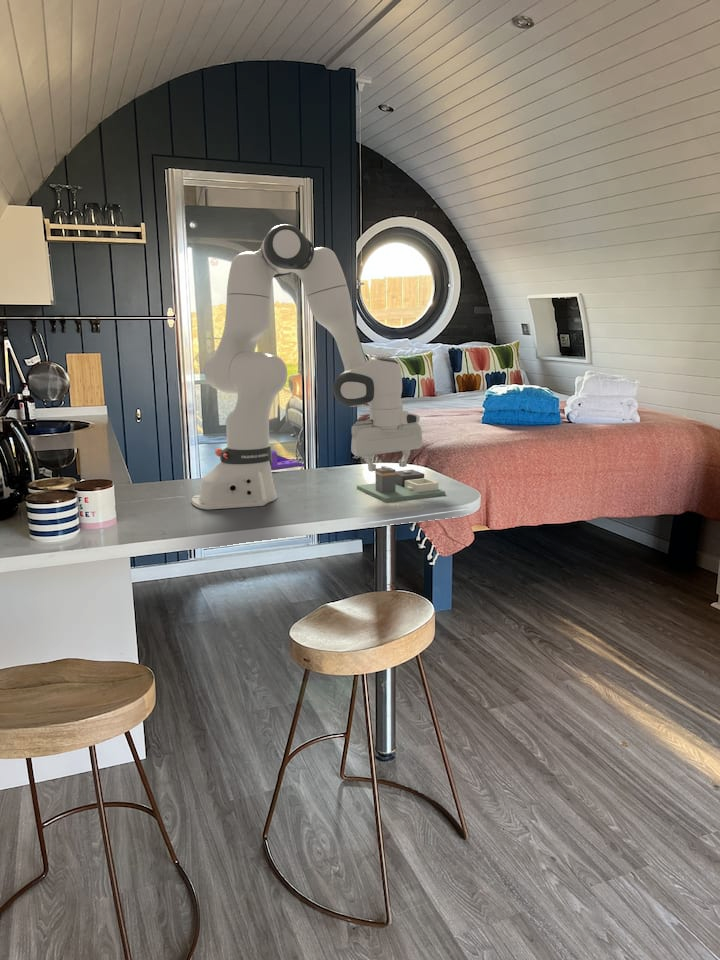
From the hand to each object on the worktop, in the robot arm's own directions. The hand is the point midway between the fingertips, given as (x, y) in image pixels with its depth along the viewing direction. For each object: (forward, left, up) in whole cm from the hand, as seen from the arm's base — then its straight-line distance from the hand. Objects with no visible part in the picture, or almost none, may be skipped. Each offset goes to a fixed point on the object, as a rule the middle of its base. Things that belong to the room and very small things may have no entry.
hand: (387, 468), depth 202 cm
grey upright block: (-1, -1, -6) cm, 6 cm away
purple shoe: (-13, +49, -8) cm, 51 cm away
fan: (+9, +5, -6) cm, 12 cm away
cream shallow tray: (+9, -3, -7) cm, 12 cm away
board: (+4, 0, -7) cm, 8 cm away
